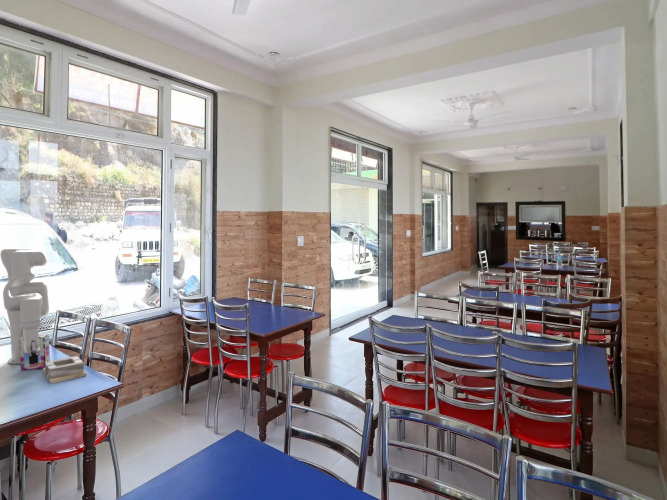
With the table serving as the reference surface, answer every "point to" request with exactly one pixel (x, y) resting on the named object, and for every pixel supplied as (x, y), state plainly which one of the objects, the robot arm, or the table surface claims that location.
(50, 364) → the collar block
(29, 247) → the robot arm
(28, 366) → the pill bottle
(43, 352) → the candy bar box
